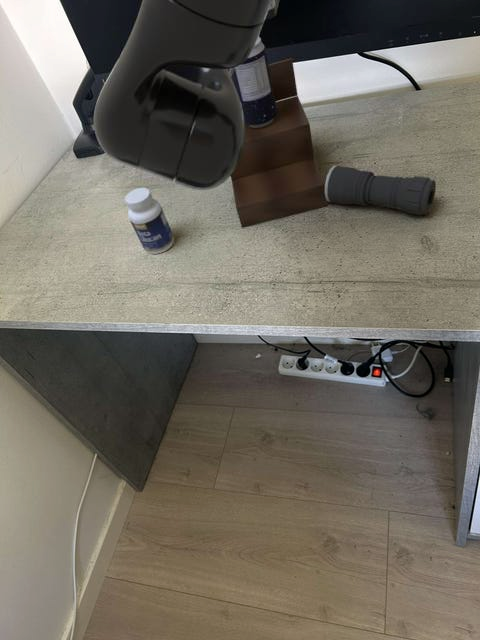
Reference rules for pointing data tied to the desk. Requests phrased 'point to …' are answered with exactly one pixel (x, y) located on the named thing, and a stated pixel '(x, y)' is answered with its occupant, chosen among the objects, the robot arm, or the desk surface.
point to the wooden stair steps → (278, 159)
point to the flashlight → (379, 190)
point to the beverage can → (255, 88)
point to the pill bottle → (149, 221)
